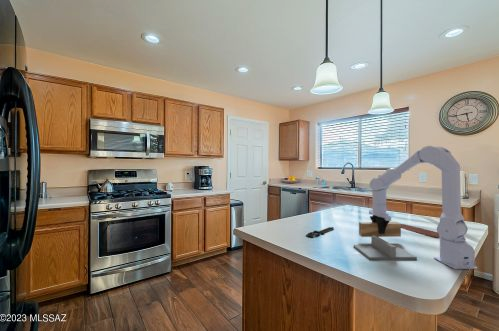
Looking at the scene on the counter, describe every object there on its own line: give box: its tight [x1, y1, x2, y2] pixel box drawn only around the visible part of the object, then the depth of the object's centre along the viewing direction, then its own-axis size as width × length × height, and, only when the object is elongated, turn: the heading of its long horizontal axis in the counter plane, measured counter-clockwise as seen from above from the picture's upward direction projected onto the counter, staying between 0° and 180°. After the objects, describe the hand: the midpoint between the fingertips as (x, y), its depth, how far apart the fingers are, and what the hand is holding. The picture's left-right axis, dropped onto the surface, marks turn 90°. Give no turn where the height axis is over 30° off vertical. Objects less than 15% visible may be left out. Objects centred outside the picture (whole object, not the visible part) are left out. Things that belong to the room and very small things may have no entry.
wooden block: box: [358, 221, 402, 238], centre depth 108 cm, size 3×18×6 cm, turn 89°
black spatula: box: [305, 226, 335, 239], centre depth 125 cm, size 25×6×1 cm, turn 127°
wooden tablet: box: [400, 223, 440, 239], centre depth 127 cm, size 27×10×2 cm, turn 15°
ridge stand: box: [353, 236, 418, 261], centre depth 95 cm, size 14×18×5 cm
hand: (379, 232), depth 108 cm, fingers closed on wooden block, 3 cm apart
